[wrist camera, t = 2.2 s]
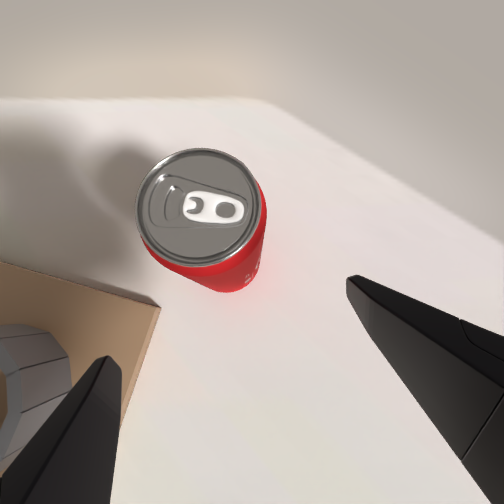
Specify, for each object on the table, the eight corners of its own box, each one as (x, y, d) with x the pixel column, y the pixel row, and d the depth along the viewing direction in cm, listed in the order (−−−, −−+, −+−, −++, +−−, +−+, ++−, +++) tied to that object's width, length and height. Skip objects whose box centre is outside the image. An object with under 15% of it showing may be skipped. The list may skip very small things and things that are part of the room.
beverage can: (203, 227, 22) (146, 133, 10) (263, 236, 22) (276, 151, 10) (190, 288, 21) (110, 261, 9) (254, 297, 21) (256, 284, 9)
